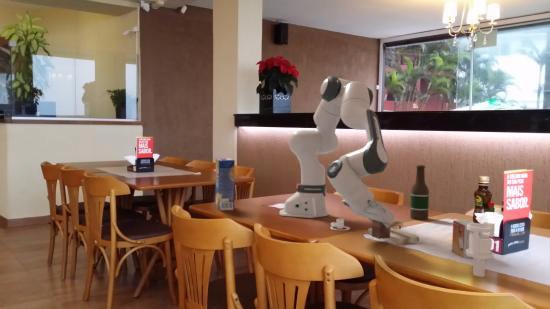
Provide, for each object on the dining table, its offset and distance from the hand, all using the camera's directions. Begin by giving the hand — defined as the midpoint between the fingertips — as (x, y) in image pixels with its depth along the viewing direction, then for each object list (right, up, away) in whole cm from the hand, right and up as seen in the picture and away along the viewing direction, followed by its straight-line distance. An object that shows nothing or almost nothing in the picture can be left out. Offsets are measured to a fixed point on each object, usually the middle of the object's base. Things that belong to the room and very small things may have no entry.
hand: (382, 224), depth 169 cm
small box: (+23, -8, -16) cm, 29 cm away
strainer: (+18, -9, -37) cm, 42 cm away
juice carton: (-63, -2, +66) cm, 91 cm away
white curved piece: (-10, -5, +25) cm, 27 cm away
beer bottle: (+27, -4, +44) cm, 52 cm away
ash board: (+5, -6, +6) cm, 10 cm away
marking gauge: (+3, -4, +1) cm, 5 cm away
